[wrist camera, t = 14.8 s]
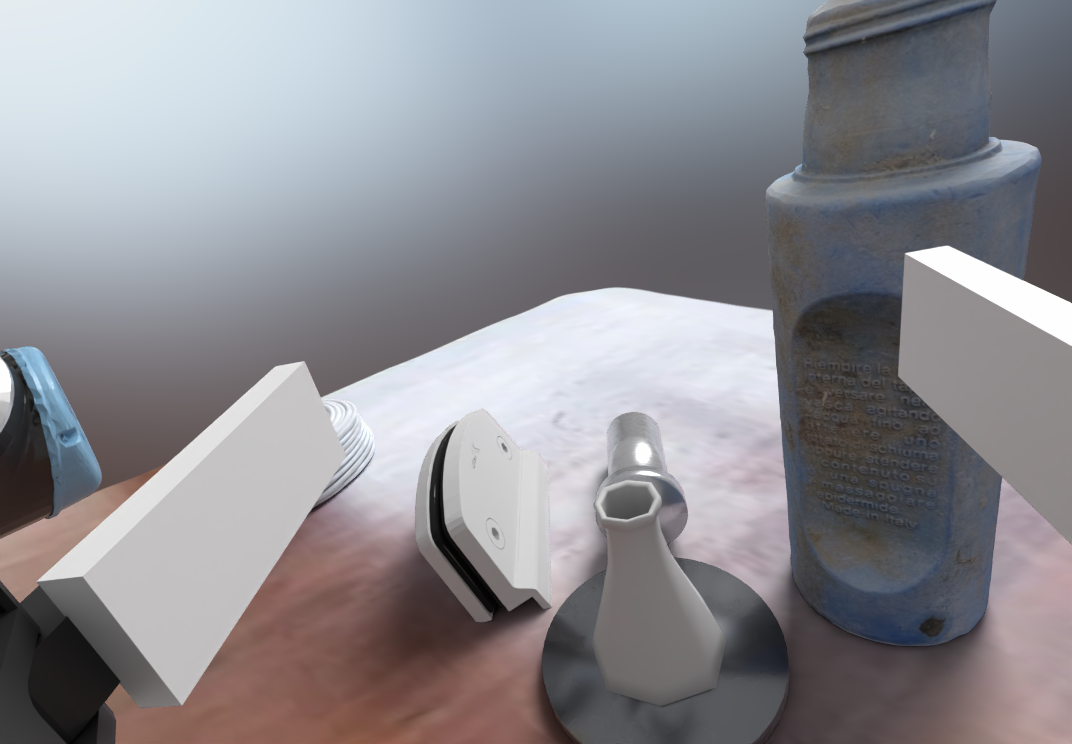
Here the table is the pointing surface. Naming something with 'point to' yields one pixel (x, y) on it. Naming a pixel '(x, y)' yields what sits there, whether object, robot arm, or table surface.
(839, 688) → the table surface
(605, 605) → the flask
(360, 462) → the cable
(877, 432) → the bottle
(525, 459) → the white flat angled piece
